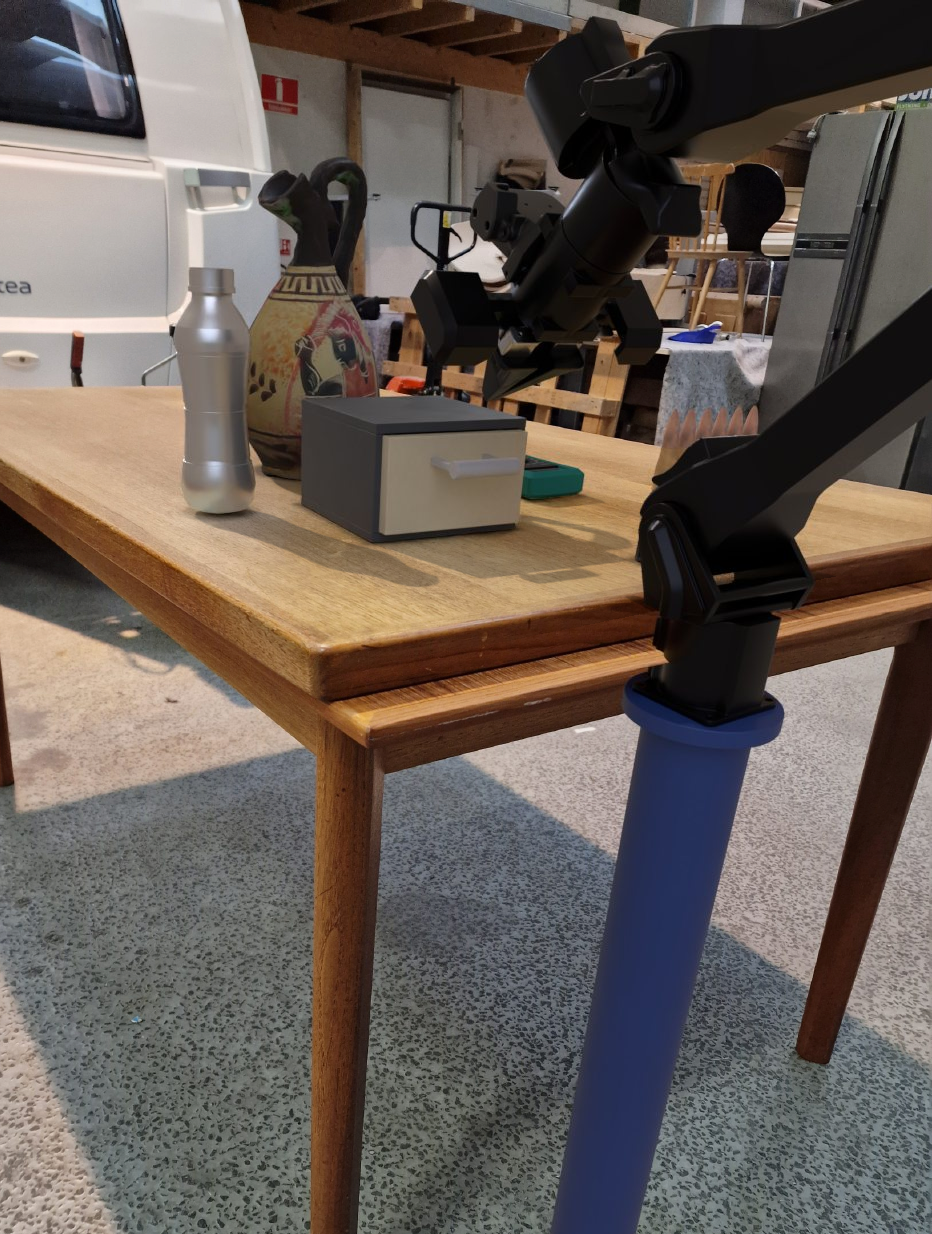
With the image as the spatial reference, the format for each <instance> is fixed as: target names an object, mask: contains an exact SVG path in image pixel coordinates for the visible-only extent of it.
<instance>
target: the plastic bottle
mask: <svg viewBox="0 0 932 1234" xmlns="http://www.w3.org/2000/svg"><path fill="white" fill-rule="evenodd" d="M187 292H189V293H190V292H191V297H190V301H189V303H188V304H187V305H186V307H185V308H184V310H183V312H182V313H181V315H180V317H179V319H178V321H177V322H176V324H175V328H174V331H173V332H174V333H173V346H174V349H175V357H176V361H177V367H178V373H179V378H180V384H181V392H182V394H181V395H182V402H183V403H184V404H183V405H184V407H183V413H184V445H183V448H184V449H183V456H184V458H183V459H182V464H181V475H180V486H181V490H182V494H183V495H182V496H183V499H184V501H185V503H186V504H187V505H188V506H189V508H190V509H192V510H194V511H197V512H203V513H208V514H215V515H225V514H229V513H236V512H240V511H244V510H247V509H248V508H249V507H250V506H251V504H252V502H253V501H254V499H255V492H256V491H255V490H256V484H257V482H256V475H255V474H256V473H255V469H254V464H253V460H252V458H251V449H250V448H251V447H250V443H249V437H248V428H247V408H246V403H247V385H248V376H249V366H250V357H251V354H250V351H251V345H252V338H251V335H250V331H249V329H250V327H249V326H248V324H247V323H246V320H245V318H244V317H243V315H242V314H241V312H240V311H239V308H238V307H237V306H236V304H235V303H234V301H233V294H236V287H235V271H234V268H222V267H221V268H219V267H203V266H202V267H198V266H189V267H188V285H187Z"/></svg>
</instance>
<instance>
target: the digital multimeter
mask: <svg viewBox="0 0 932 1234" xmlns="http://www.w3.org/2000/svg"><path fill="white" fill-rule="evenodd" d="M584 482H585V472H584V471H582V470H581V469H580V468H579V467H575V466H571V465H568V464H564V463H563V464H562V463H559V462H555V461H551V460H548V459H547V460H546V459H543V458H540V457H535V456H532V455H529V454H526V455H525V464H524V474H523V483H522V493H521V498H522V497H523V498H524V499H529V500H545V499H556V498H563V497H570V496H577V495H578V494H579V493H581V492H582V491H583V488H584Z"/></svg>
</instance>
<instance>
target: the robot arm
mask: <svg viewBox="0 0 932 1234" xmlns="http://www.w3.org/2000/svg"><path fill="white" fill-rule="evenodd" d="M643 54H644V55H643V56H640V57H638V58H636V59H633V58H632V56H631V55H630V52H629V50H628V47H627V45H626V41H625V37H624V34H623V31H622V29H621V27H620V25H619V23H618V21H617V20H615V19H611V18H606V17H601V16H596V15H591V16H589V17H588V19H587V21H586V22H585V24H584V26H583V27H582V30H581V31H580V32H577V33H574V34H571V35H568V36H566V37H564V38H562V39H561V40H560V41H558V42H555V44H554V45H552V46H551V47H550V48H549V49H548V50H546V51H545V52H544V53H543V55H542V56H540V57H537V58H536V59H535V60H534V61H533V63H532V65H531V67H530V69H529V71H528V73H527V75H526V78H525V83H524V89H523V90H524V98H525V101H526V104H527V105H528V107H529V110H530V112H531V114H532V117H533V119H534V121H535V123H536V125H537V127H538V130H539V132H540V134H541V136H542V138H543V140H544V143H545V146H546V147H547V149H548V152H549V153H550V156H551V158H552V160H553V163H554V164H555V167H556V169H557V171H558V172H559V174H561V176H563V177H565V178H567V179H570V180H574V181H575V180H577V181H578V180H583V181H582V182H581V184H580V185H579V186H578V189H577V190H576V191H575V193H574V195H573V196H572V198H571V199H570V201H569V202H568V204H567V205H566V206H565V205H563V203H561V202H560V200H558V199H557V198H556V197H554V196H553V195H551V194H549V193H547V192H545V191H539V190H529V189H521V188H518V189H517V188H510V185H509V184H508V183H503V182H493V181H486V183H485V184H484V186H483V187H482V189H481V190H480V192H479V193H478V194H477V196H476V198H475V200H474V201H473V205H472V207H471V211H470V215H469V227H470V228H471V230H472V231H474V233H475V234H476V235H477V236H478V237H479V238H480V239H481V240H482V241H483V242H487V243H492V244H493V245H494V246H495V248H497V250H499V251H500V253H502V254H503V256H504V257H505V258H506V260H505V261H504V263H503V265H502V266H501V268H500V270H501V271H502V274H503V277H504V279H505V281H506V283H507V284H512V285H513V288H514V289H513V291H512V292H491V291H487V290H486V288H485V285H484V283H483V281H482V279H481V278H482V277H481V275H480V273H479V272H477V271H465V270H464V271H463V270H439V269H424V271H423V273H422V274H421V276H420V277H419V279H418V281H417V282H416V285H415V286H414V287H413V290H412V292H411V294H410V295H409V298H410V301H411V303H412V306H413V309H414V312H415V314H416V317H417V320H418V322H419V324H420V327H421V330H422V333H423V335H424V337H425V340H426V343H427V345H428V348H429V351H430V354H431V356H432V360H434V361H436V362H437V363H439V364H440V365H441V366H443V367H467V366H468V367H476V366H478V365H480V364H482V363H484V362H486V363H485V368H484V369H485V370H484V374H483V378H482V379H483V380H482V385H481V392H482V395H483V398H484V400H485V401H486V402H496V401H497V400H500V399H503V398H505V397H507V396H510V395H512V394H515V393H517V392H520V391H522V390H524V389H527V388H530V387H533V386H535V385H538V384H540V383H542V382H546V381H548V380H551V379H554V378H556V377H560V376H562V375H565V374H568V373H570V372H578V371H580V370H582V369H583V368H584V367H585V365H586V364H585V363H586V362H585V359H584V356H583V355H582V352H581V350H580V348H581V347H582V346H583V344H584V342H585V343H586V342H589V343H590V342H591V343H592V342H594V341H595V340H596V339H597V340H598V339H599V340H604V339H605V340H611V339H612V338H613V337H614V336H615V333H614V332H616V334H617V336H618V338H619V341H620V342H619V344H618V345H617V346H616V348H614V350H613V354H614V357H615V360H616V363H617V365H618V366H646V365H647V363H648V362H649V361H650V360H651V359H652V358H653V356H655V355H656V353H657V352H658V351H659V350H660V349H661V346H662V341H663V337H664V336H663V335H664V327H663V325H662V322H661V320H660V318H659V316H658V314H657V312H656V309H655V307H654V305H653V303H652V301H651V300H652V299H651V298H650V296H649V293H648V291H647V290H646V287H645V284H644V283H643V280H642V279H637V278H636V279H635V278H633V276H632V275H631V272H632V271H634V269H635V268H636V266H637V265H638V263H639V262H640V261H641V260H642V258H643V257H644V256H645V255H646V253H647V252H648V251H649V249H651V247H652V245H654V243H655V242H656V240H657V239H658V238H659V237H665V238H667V237H668V238H685V239H686V238H687V239H689V238H690V239H696V238H698V237H699V236H700V235H701V233H702V229H703V228H702V227H703V213H702V209H701V195H702V191H703V187H702V186H701V185H700V184H698V183H697V184H695V183H687V181H686V179H685V176H684V174H683V172H682V171H681V169H680V167H679V164H678V162H677V160H676V159H681V160H688V161H695V162H696V161H697V162H704V163H712V164H720V165H722V164H723V165H732V164H735V163H738V162H740V161H742V160H744V159H746V158H749V157H750V156H753V155H755V154H757V153H759V152H762V151H764V150H766V149H768V148H770V147H773V146H775V145H777V144H779V143H781V142H782V141H783V140H784V139H785V138H786V137H787V136H789V134H790V133H792V131H794V129H796V127H798V126H800V125H801V124H804V123H806V122H808V121H810V120H812V119H814V118H816V117H819V116H823V115H827V114H831V113H835V112H839V111H844V110H848V109H851V108H855V107H859V106H860V107H861V106H865V105H868V104H873V103H876V102H880V101H884V100H889V99H894V98H897V97H901V96H905V95H909V94H913V93H914V94H915V93H918V92H923V91H925V90H930V89H932V0H844V1H841V2H839V3H836V4H833V5H830V6H827V7H824V8H821V9H818V10H815V11H812V12H810V13H806V14H803V15H801V16H798V17H795V18H792V19H789V20H786V21H783V22H778V23H777V22H776V23H766V24H734V23H733V24H731V23H730V24H729V23H727V24H724V23H715V24H706V25H705V24H704V25H694V26H693V25H692V26H684V27H674V28H670V29H666V30H664V31H663V32H661V33H660V34H658V35H657V36H655V37H654V38H653V39H652V40H651V41H650V42H649V43H648V44H647V46H646V47H645V49H644V53H643ZM931 413H932V285H930V287H928V288H927V289H926V290H925V291H924V292H922V293H921V294H920V295H919V296H917V298H916V299H914V300H913V301H912V302H911V303H909V305H907V306H906V307H905V308H904V309H902V311H900V312H899V313H898V314H897V315H896V316H894V317H893V319H891V320H890V321H889V322H888V323H886V324H885V325H884V326H883V327H882V328H881V329H879V330H878V331H877V332H876V333H875V334H874V335H872V336H871V338H869V339H868V340H867V341H866V342H864V343H863V344H862V345H861V346H859V348H858V349H857V350H855V351H854V352H853V353H852V354H850V356H848V357H847V358H845V360H844V361H842V362H841V363H840V364H839V365H838V366H837V367H836V368H835V369H833V370H832V371H831V372H830V373H829V374H828V375H826V376H825V377H824V378H823V379H821V380H820V382H818V383H817V384H816V385H814V387H813V388H811V389H810V390H809V391H807V393H805V395H803V396H802V397H800V399H799V400H798V401H796V402H795V403H794V404H793V405H792V406H791V407H789V408H788V409H787V410H786V411H785V412H784V413H782V415H780V416H779V417H777V419H775V420H774V421H773V422H772V423H771V424H770V425H769V426H767V427H766V428H765V429H764V430H763V431H762V432H760V433H757V434H755V435H739V436H723V437H706V438H699V439H698V440H697V441H695V442H694V443H693V444H692V445H690V446H689V447H688V448H687V449H686V450H685V451H684V453H683V454H682V455H681V457H680V458H679V459H678V461H677V462H676V463H675V464H674V465H673V466H672V467H671V468H670V469H669V470H667V471H666V472H664V473H663V474H659V475H656V476H654V475H652V476H651V482H652V484H653V483H654V484H656V485H657V486H658V487H657V488H655V489H654V490H653V491H652V492H651V491H650V493H649V494H648V495H647V497H646V498H645V499H644V500H643V503H642V505H641V507H640V509H639V517H640V521H639V524H638V530H637V531H638V532H637V533H638V535H637V537H638V539H639V549H640V560H641V562H640V570H641V580H642V581H641V582H642V593H643V602H644V604H645V605H646V606H648V607H650V608H653V609H654V610H656V611H657V612H658V614H659V615H658V616H656V620H655V625H654V631H653V637H652V642H651V645H652V647H655V649H656V650H657V651H658V652H661V653H663V657H664V659H665V661H667V662H665V663H660V664H655V665H652V666H651V665H650V666H648V667H647V670H646V672H647V674H648V676H650V677H651V678H648V679H645V680H641V681H637V682H634V683H633V686H632V691H634V692H636V693H638V694H640V695H642V696H644V697H646V698H648V699H650V700H652V701H654V702H656V703H658V704H660V705H662V706H664V707H666V708H668V709H670V710H672V711H675V712H677V713H679V714H681V715H683V716H685V717H687V718H689V719H691V720H693V721H695V722H697V723H699V724H701V725H703V726H706V727H717V726H720V725H723V724H726V723H730V722H733V721H736V720H739V719H742V718H746V717H749V716H752V715H755V714H759V713H762V712H765V711H768V710H771V709H774V708H776V704H777V700H778V699H777V698H776V699H777V700H776V699H774V698H772V697H770V696H767V695H765V694H764V690H765V689H766V686H767V681H768V677H769V674H770V669H771V664H772V661H773V656H774V652H775V648H776V644H777V639H778V635H779V631H780V626H781V623H782V617H780V616H778V615H776V614H773V613H776V612H781V611H787V610H790V611H795V610H799V609H800V608H801V607H802V606H803V604H804V603H805V601H806V599H807V597H808V596H809V594H810V593H811V591H812V590H813V588H814V587H815V584H816V579H815V576H814V575H813V573H812V571H811V569H810V566H809V565H808V563H807V561H806V559H805V557H804V555H803V553H802V551H801V549H800V546H799V544H798V542H797V540H796V537H797V535H799V533H800V532H802V531H803V530H804V528H805V527H806V525H807V522H808V520H809V518H810V516H811V513H812V511H813V509H814V507H815V505H816V503H817V500H818V499H819V498H820V496H821V495H822V494H823V493H824V492H825V491H826V490H827V489H828V488H830V487H831V486H833V485H834V484H836V482H838V481H839V480H841V479H842V478H844V477H845V476H847V475H848V474H849V473H850V472H852V471H853V470H854V469H856V468H857V467H858V466H860V465H861V464H863V463H864V462H865V461H867V460H868V459H869V458H871V457H872V456H873V455H874V454H876V453H877V452H879V451H880V450H882V449H883V448H884V447H886V446H887V445H888V444H890V443H891V442H892V441H894V440H895V439H896V438H898V437H899V436H900V435H902V434H903V433H904V432H905V433H906V431H908V430H909V429H910V428H911V427H913V426H914V425H916V424H917V423H918V422H920V421H921V420H922V419H923V418H925V417H926V416H928V415H930V414H931ZM638 539H637V540H638ZM727 574H733V579H730V580H723V581H716V580H715V578H714V577H715V576H720V575H727ZM765 691H766V690H765Z"/></svg>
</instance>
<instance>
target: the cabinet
mask: <svg viewBox="0 0 932 1234" xmlns="http://www.w3.org/2000/svg"><path fill="white" fill-rule="evenodd" d="M527 421H528V420H527V417H524V416H518V415H515V414H511V413H508V412H504V411H500V410H497V409H492V408H488V407H485V406H481V405H478V404H474V403H470V402H466V401H462V400H458V399H455V398H451V397H446V396H443V395H435V394H434V395H399V396H398V395H397V396H396V395H395V396H393V395H392V396H391V395H390V396H380V397H349V398H307V399H302V448H301V480H300V484H301V485H300V495H301V496H300V503H301V504H300V505H302V506H304V507H306V508H307V509H309V510H311V511H313V512H315V513H317V514H318V515H320V516H322V517H324V518H325V519H327V520H329V521H331V522H332V523H335V524H336V525H338V526H340V527H342V528H344V529H345V530H347V531H349V532H351V533H353V534H355V535H357V536H358V537H360V538H362V539H364V540H366V541H367V542H368V543H371V544H375V543H386V542H396V541H398V542H399V541H406V540H417V539H427V538H435V537H448V536H455V535H456V536H457V535H467V534H476V533H488V532H497V531H499V532H500V531H508V530H515V529H516V524H517V523H509V524H499V525H489V526H478V527H468V528H457V529H447V530H436V531H426V532H415V533H405V534H394V535H384V534H382V533H380V532H379V516H380V492H381V468H382V444H383V436H384V434H393V433H416V432H440V431H463V430H486V429H503V430H523V431H526V427H527Z"/></svg>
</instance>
